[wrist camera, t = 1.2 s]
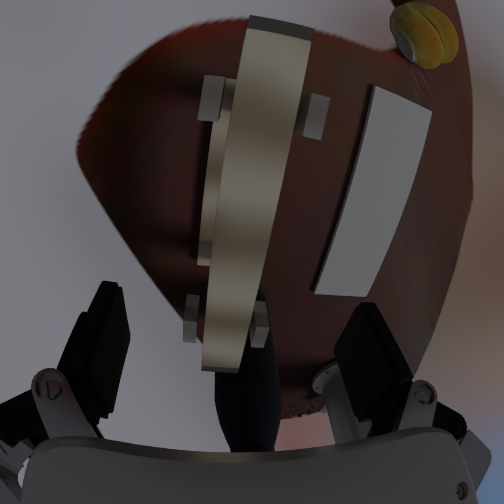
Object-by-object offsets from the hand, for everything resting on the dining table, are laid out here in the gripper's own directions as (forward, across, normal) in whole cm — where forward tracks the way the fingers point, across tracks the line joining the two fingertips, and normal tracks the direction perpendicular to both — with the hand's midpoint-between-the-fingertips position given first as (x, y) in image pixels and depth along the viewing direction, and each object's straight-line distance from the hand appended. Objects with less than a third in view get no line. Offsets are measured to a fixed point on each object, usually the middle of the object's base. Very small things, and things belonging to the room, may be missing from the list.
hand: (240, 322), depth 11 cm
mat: (+20, -16, +1) cm, 26 cm away
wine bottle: (+20, -4, +17) cm, 26 cm away
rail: (+10, 0, +1) cm, 10 cm away
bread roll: (+20, -18, -21) cm, 34 cm away
